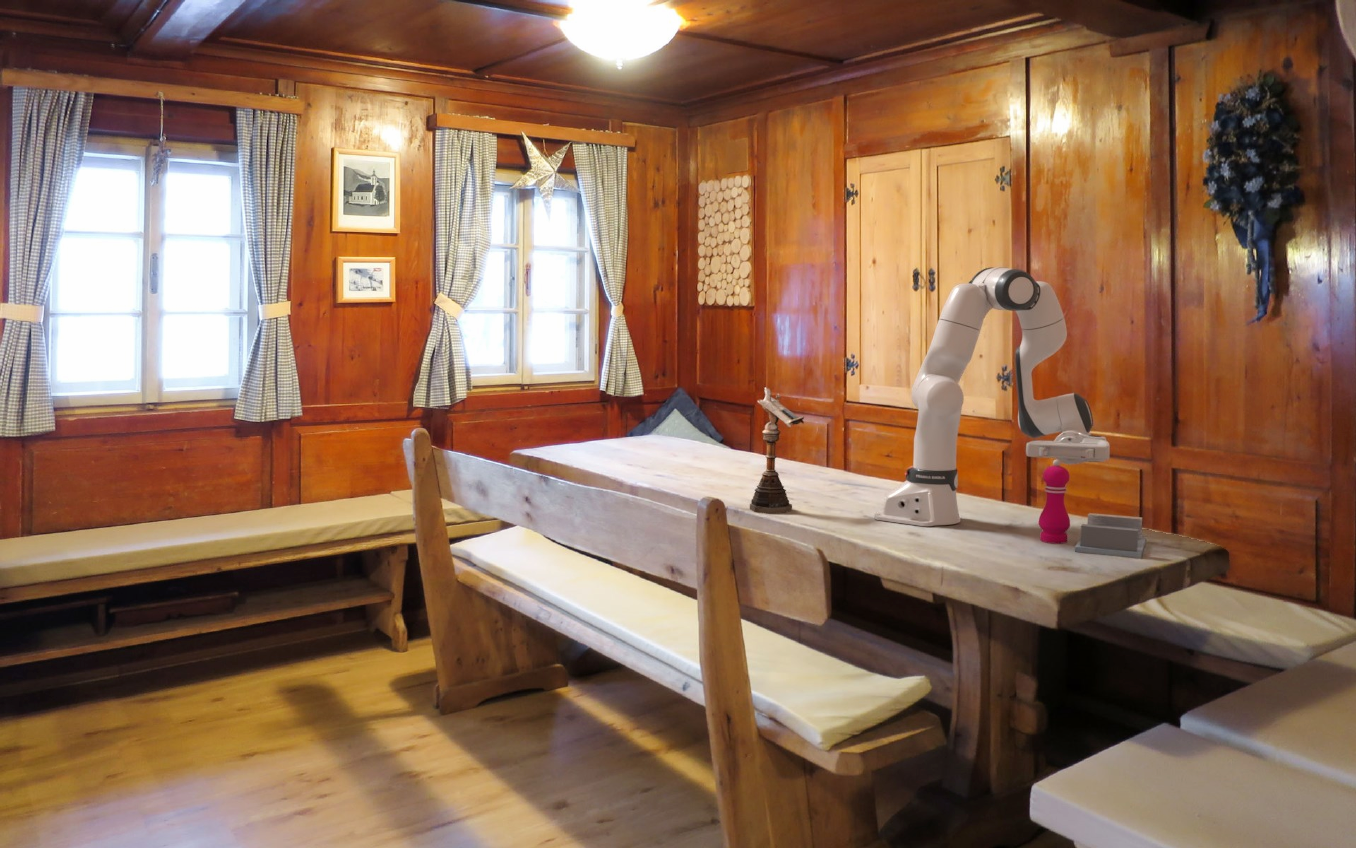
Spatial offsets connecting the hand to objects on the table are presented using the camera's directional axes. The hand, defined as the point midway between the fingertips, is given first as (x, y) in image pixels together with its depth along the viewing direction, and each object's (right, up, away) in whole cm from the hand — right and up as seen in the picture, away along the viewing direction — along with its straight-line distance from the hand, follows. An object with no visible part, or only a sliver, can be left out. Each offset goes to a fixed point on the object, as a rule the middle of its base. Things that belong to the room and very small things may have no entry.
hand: (1064, 454), depth 256 cm
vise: (+6, -22, -15) cm, 27 cm away
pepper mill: (-6, -21, -9) cm, 23 cm away
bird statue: (-69, -17, +31) cm, 77 cm away
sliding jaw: (+9, -20, -9) cm, 23 cm away
